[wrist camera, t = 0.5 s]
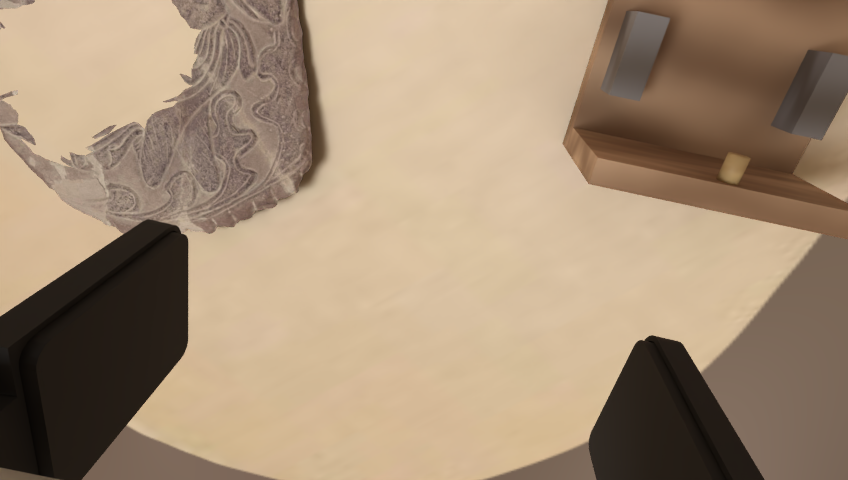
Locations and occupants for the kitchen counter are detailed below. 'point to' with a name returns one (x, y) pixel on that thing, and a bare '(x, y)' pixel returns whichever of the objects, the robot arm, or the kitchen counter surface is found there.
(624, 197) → the kitchen counter surface
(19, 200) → the kitchen counter surface
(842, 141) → the kitchen counter surface
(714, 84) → the pegged stand
